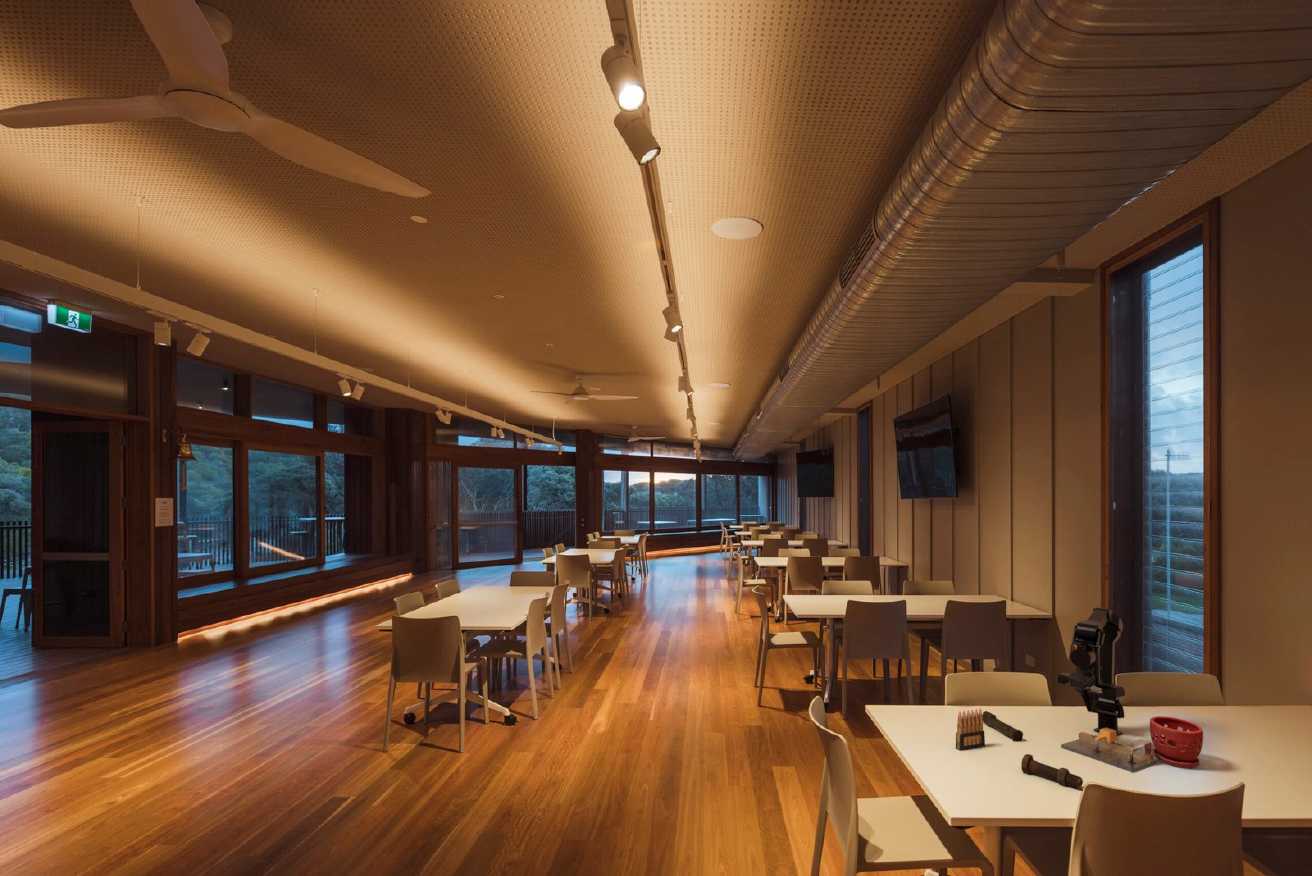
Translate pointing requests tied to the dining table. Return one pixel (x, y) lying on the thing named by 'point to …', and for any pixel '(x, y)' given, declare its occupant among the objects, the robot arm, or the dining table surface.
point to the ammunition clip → (970, 730)
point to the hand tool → (1002, 726)
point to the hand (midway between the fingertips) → (1090, 711)
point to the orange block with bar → (1106, 736)
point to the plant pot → (1176, 741)
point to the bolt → (1050, 772)
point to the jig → (1114, 752)
